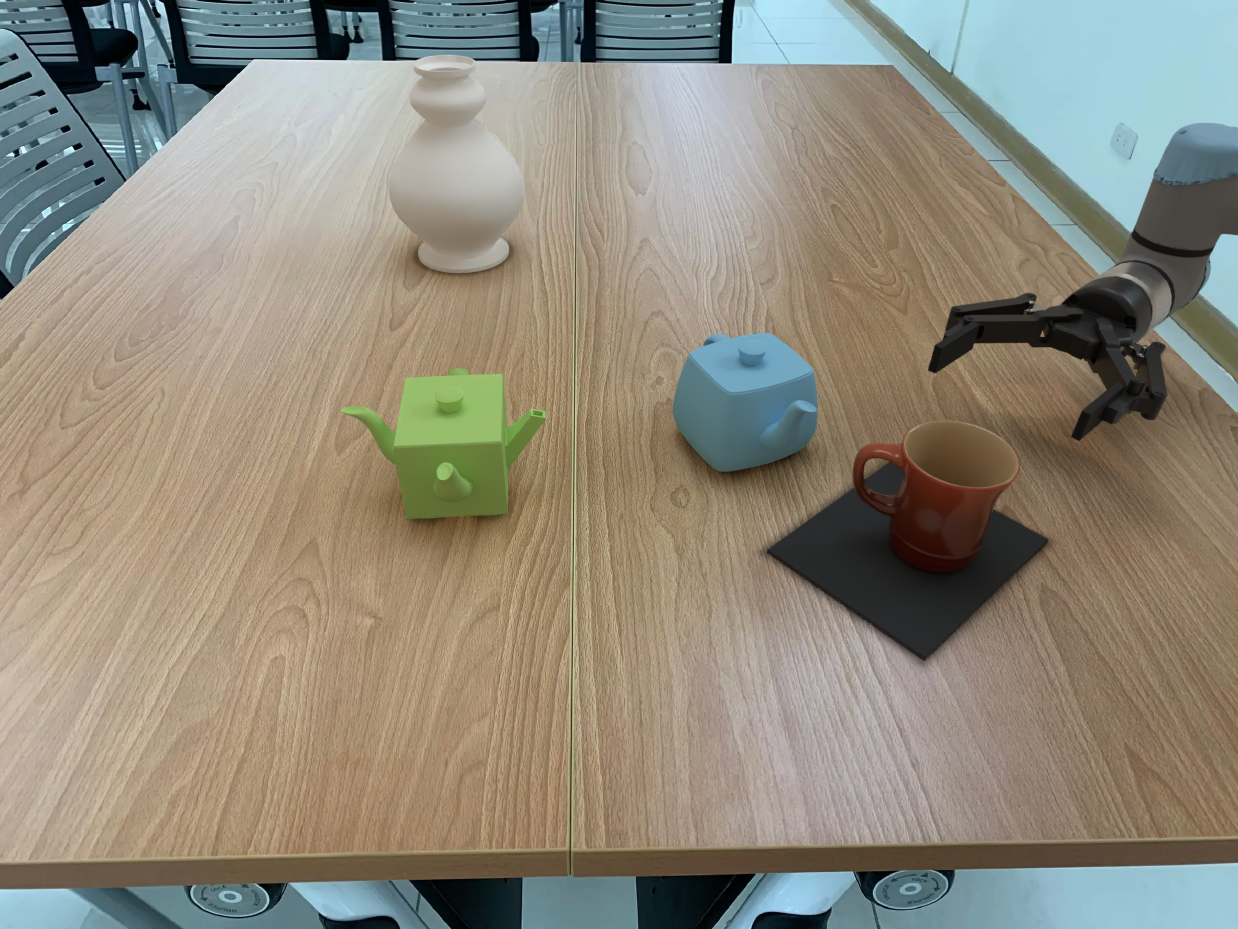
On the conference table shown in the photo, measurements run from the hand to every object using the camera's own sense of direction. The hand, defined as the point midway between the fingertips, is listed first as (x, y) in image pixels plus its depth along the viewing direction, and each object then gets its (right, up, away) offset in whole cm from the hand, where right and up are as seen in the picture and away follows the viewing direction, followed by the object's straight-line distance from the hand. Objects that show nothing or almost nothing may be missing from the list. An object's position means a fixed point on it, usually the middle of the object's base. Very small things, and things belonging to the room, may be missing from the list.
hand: (1003, 391), depth 76 cm
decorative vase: (-55, +23, +48) cm, 76 cm away
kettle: (-49, -9, +8) cm, 50 cm away
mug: (-7, -14, +3) cm, 16 cm away
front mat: (-7, -14, +3) cm, 16 cm away
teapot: (-20, -5, +14) cm, 25 cm away
